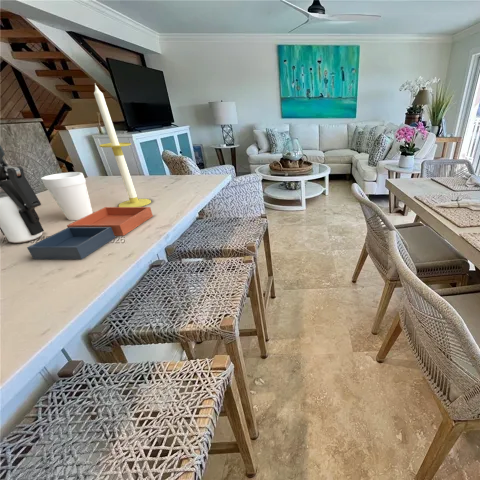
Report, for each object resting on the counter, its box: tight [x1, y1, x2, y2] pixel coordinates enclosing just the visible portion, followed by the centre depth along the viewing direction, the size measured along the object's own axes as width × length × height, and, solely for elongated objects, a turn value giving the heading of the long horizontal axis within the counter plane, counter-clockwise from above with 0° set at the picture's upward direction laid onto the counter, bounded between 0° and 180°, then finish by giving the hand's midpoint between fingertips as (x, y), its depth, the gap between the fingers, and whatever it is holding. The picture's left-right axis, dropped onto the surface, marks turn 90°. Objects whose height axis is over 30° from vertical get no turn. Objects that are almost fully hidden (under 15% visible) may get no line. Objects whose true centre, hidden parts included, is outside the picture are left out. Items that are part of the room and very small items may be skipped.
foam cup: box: [40, 171, 94, 221], centre depth 81 cm, size 10×9×13 cm
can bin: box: [26, 227, 116, 260], centre depth 65 cm, size 11×11×3 cm
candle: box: [93, 83, 152, 207], centre depth 86 cm, size 10×10×38 cm
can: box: [0, 190, 44, 244], centre depth 67 cm, size 6×6×12 cm
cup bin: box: [66, 206, 154, 237], centre depth 77 cm, size 14×14×3 cm
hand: (24, 232), depth 69 cm, fingers closed on can, 6 cm apart
